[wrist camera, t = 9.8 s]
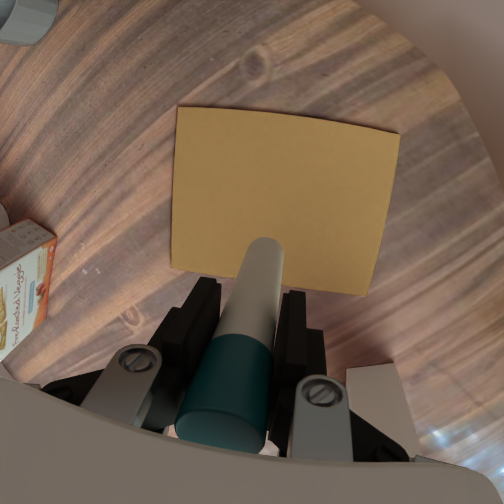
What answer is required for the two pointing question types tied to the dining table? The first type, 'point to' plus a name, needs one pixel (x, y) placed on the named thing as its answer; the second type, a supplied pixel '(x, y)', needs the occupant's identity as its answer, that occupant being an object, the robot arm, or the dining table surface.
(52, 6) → the pen pot
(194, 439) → the marker
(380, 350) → the dining table surface
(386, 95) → the dining table surface
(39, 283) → the cracker box
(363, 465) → the robot arm
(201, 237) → the cork mat
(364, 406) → the milk
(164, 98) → the dining table surface
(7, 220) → the white cup
